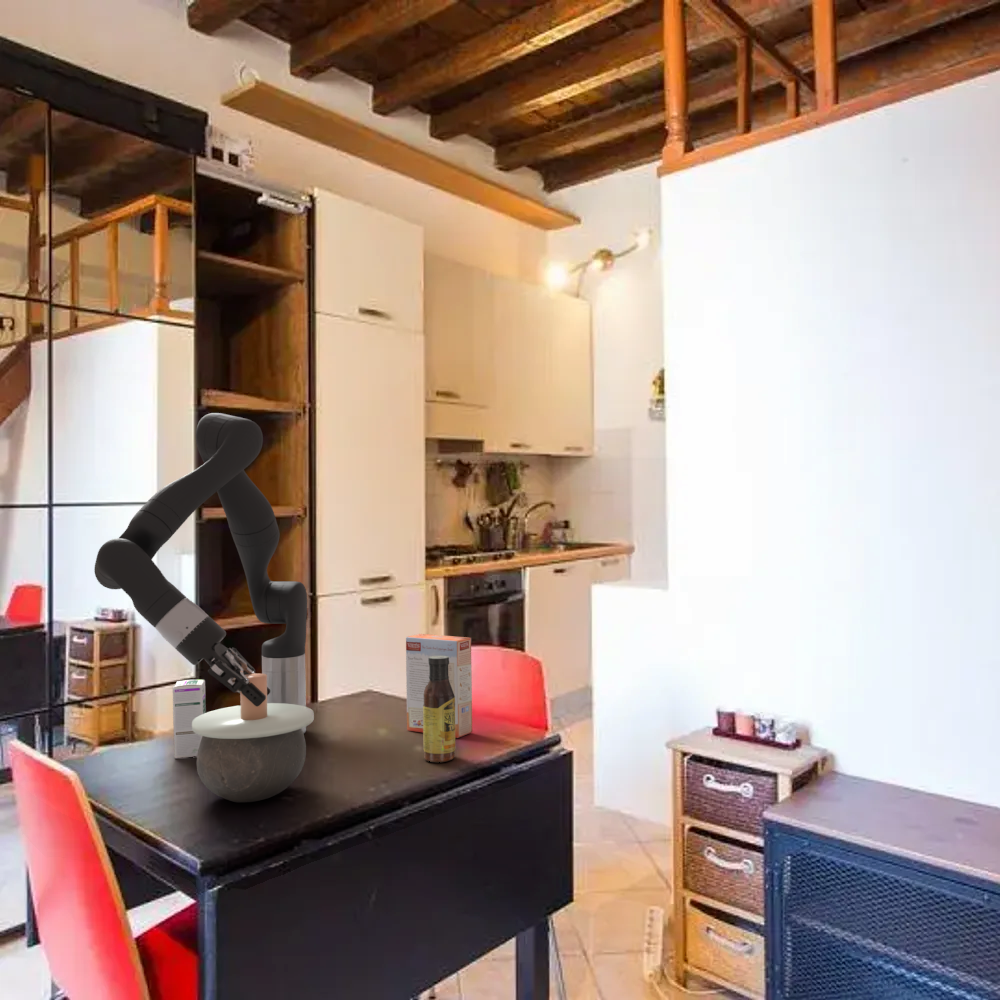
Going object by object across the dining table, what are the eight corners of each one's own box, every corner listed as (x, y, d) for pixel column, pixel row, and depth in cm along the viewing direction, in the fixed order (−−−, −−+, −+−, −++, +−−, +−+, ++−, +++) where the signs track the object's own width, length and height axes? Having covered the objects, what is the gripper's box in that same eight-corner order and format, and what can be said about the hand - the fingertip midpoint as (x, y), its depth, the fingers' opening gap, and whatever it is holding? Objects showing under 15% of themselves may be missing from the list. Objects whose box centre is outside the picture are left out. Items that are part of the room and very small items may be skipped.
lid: (169, 725, 142) (168, 678, 142) (269, 703, 158) (268, 660, 158) (235, 746, 130) (235, 694, 130) (337, 719, 145) (337, 673, 145)
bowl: (173, 808, 138) (172, 731, 138) (242, 775, 155) (242, 706, 155) (264, 821, 132) (263, 740, 132) (326, 785, 149) (325, 713, 149)
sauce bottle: (450, 764, 160) (449, 660, 160) (419, 763, 161) (418, 659, 161) (459, 754, 166) (458, 654, 166) (429, 753, 167) (427, 653, 168)
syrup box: (204, 756, 167) (203, 683, 167) (172, 759, 166) (172, 685, 166) (207, 748, 173) (206, 678, 173) (176, 751, 171) (175, 680, 171)
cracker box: (473, 733, 182) (472, 636, 182) (457, 739, 177) (456, 640, 177) (422, 724, 190) (421, 632, 190) (405, 730, 184) (404, 635, 185)
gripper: (197, 620, 136) (274, 692, 137) (215, 609, 150) (285, 674, 151) (163, 654, 135) (241, 726, 137) (185, 640, 149) (255, 705, 151)
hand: (264, 698), depth 144 cm, fingers closed on lid, 4 cm apart
